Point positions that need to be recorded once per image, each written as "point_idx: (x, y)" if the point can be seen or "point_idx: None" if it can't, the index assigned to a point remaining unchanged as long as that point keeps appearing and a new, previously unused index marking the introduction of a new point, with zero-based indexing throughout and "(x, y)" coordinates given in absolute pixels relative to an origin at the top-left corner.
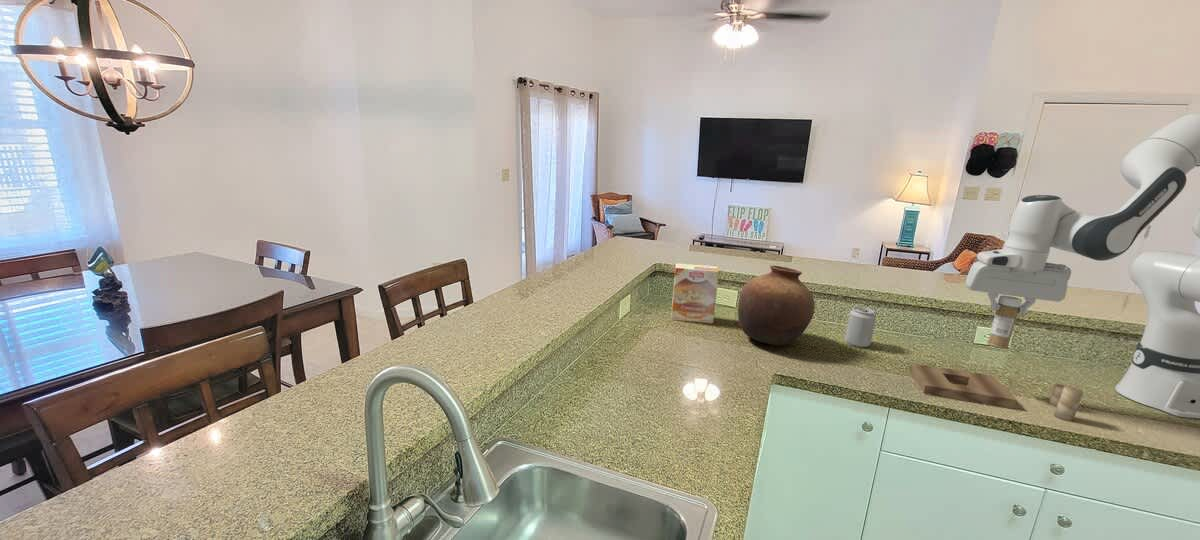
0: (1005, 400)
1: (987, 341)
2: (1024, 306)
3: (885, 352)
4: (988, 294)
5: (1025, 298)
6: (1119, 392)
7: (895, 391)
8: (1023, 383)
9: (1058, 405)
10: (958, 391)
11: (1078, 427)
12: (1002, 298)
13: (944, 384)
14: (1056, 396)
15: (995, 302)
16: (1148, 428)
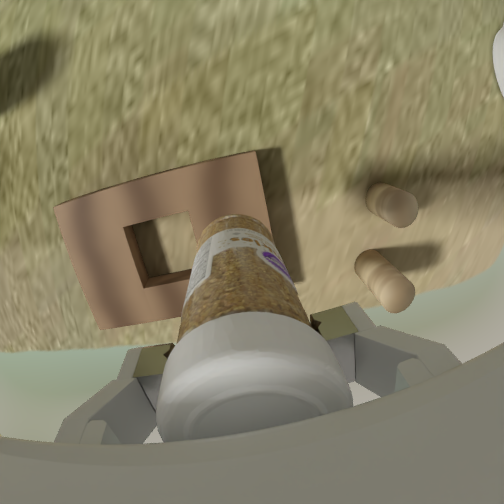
0: None
1: (197, 250)
2: (363, 375)
3: (16, 107)
4: (66, 431)
5: (402, 387)
6: (495, 70)
7: (67, 335)
8: (339, 94)
9: (364, 278)
10: (162, 319)
11: None
12: None
13: (132, 303)
14: (380, 216)
15: (144, 432)
16: (482, 220)
